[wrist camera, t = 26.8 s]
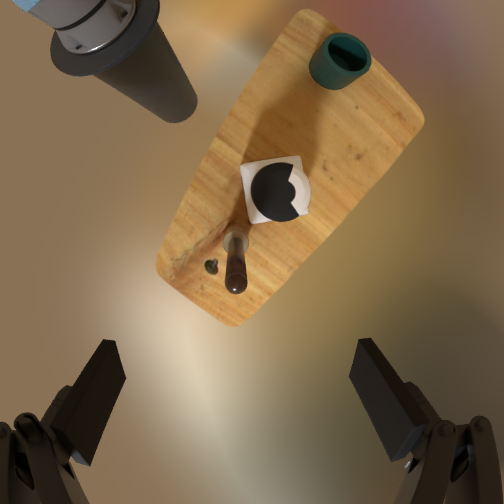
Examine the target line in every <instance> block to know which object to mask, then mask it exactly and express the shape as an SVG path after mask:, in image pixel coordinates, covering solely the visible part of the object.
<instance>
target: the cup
mask: <svg viewBox="0 0 504 504" xmlns="http://www.w3.org/2000/svg"><path fill="white" fill-rule="evenodd" d="M370 66H371V55H370V52H369V50H368V49H367V47H366V46H365V44H364V43H363V42H362V41H360V40H359V39H358V38H356V37H354V36H352V35H350V34H347V33H335V34H331V35H330V36H328V37H327V38H326V39H325V41H324V42H323V43H322V45H321V46H320V47H319V49H318V50H317V51H316V53H315V54H314V56H313V57H312V59H311V60H310V63H309V70H310V74H311V76H312V77H313V79H314V80H315V81H316V82H317V83H318V84H319V85H321V86H322V87H324V88H327V89H331V90H339V89H342V88H344V87H346V86H347V85H349V84H350V83H352V82H353V81H355V80H356V79H357V78H359V77H360V76H362V75H363V74H365V73H366V72H367V71H368V70H369V68H370Z"/></svg>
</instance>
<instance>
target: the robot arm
mask: <svg viewBox="0 0 504 504" xmlns="http://www.w3.org/2000/svg"><path fill="white" fill-rule="evenodd" d="M12 1H13V2H14V3H15V4H16V5H17V6H19V7H20V8H21V9H22V11H24V12H28V13H29V14H31V15H33V16H34V17H36V18H38V19H39V20H41V21H43V22H44V23H46V24H47V25H49V26H51V27H52V28H54V29H55V30H56V32H57V34H58V36H59V38H60V40H61V42H62V44H63V46H64V47H65V49H66V50H68V51H69V52H71V53H73V54H75V55H80V56H84V55H90V54H94V53H97V52H99V51H101V50H103V49H105V48H107V47H108V46H110V45H111V44H113V43H114V42H115V41H117V40H118V39H119V38H120V37H121V36H122V35H123V34H124V33H125V32H126V31H127V30H128V28H129V27H130V26H131V24H132V22H133V21H134V19H135V16H136V13H137V2H136V0H12ZM349 378H350V380H351V381H352V383H353V385H354V387H355V389H356V391H357V393H358V395H359V397H360V399H361V401H362V403H363V405H364V407H365V409H366V411H367V413H368V415H369V417H370V419H371V421H372V423H373V425H374V427H375V429H376V432H377V434H378V436H379V438H380V440H381V442H382V444H383V446H384V448H385V450H386V452H387V454H388V456H389V459H390V461H391V462H394V461H397V460H400V459H402V458H405V457H406V455H407V454H408V453H409V451H411V453H412V454H413V456H412V458H410V460H409V461H408V462H407V464H406V465H405V467H404V468H406V467H407V466H408V468H407V471H406V473H405V476H404V479H403V481H402V484H401V486H400V489H399V491H398V493H397V496H396V498H395V500H394V502H393V504H443V501H444V498H445V504H503V494H502V482H501V474H500V467H499V460H498V454H497V449H496V444H495V439H494V435H493V430H492V426H491V423H490V421H489V420H488V419H487V418H486V417H484V416H475V417H474V418H472V420H471V421H470V423H469V424H464V425H457V426H456V425H455V424H454V423H452V422H451V421H448V420H442V419H441V418H440V417H439V416H438V414H437V413H436V411H435V410H434V408H433V407H432V406H431V404H430V403H429V401H427V399H426V397H425V396H424V395H423V393H422V392H421V390H420V389H419V388H418V387H417V386H416V385H414V384H413V383H411V382H407V383H403V381H402V380H401V379H400V377H399V376H398V375H397V373H396V372H395V370H394V369H393V367H392V366H391V365H390V363H389V362H388V361H387V359H386V358H385V356H384V355H383V354H382V352H381V351H380V350H379V348H378V347H377V346H376V344H375V343H374V341H373V340H372V339H371V338H364V339H359V340H358V344H357V348H356V352H355V356H354V360H353V364H352V367H351V371H350V375H349ZM125 380H126V376H125V373H124V370H123V366H122V363H121V360H120V356H119V353H118V349H117V346H116V342H115V341H113V340H105V339H103V340H102V342H101V344H100V345H99V346H98V348H97V349H96V351H95V352H94V354H93V355H92V357H91V358H90V360H89V361H88V363H87V364H86V366H85V367H84V369H83V371H82V372H81V374H80V375H79V377H78V378H77V380H76V382H75V383H74V385H73V386H68V385H66V386H65V387H63V388H62V389H61V390H60V391H59V392H58V393H57V395H56V397H55V399H54V400H53V401H52V403H51V405H50V406H49V408H48V409H47V411H46V413H45V414H44V417H43V418H42V419H41V421H40V422H39V420H38V419H37V417H36V416H35V415H34V414H32V413H22V414H20V415H19V416H17V418H16V419H15V421H14V427H15V429H16V430H17V431H15V430H12V429H11V428H10V426H9V425H8V424H7V423H5V422H0V504H89V502H88V500H87V498H86V496H85V494H84V492H83V490H82V488H81V486H80V483H79V481H78V479H77V477H76V475H75V472H74V470H73V468H72V465H71V463H70V462H69V459H70V456H72V458H73V459H74V460H75V461H76V462H77V463H80V464H84V465H87V466H90V465H91V462H92V460H93V457H94V454H95V452H96V449H97V447H98V444H99V442H100V439H101V436H102V434H103V431H104V429H105V427H106V424H107V422H108V419H109V417H110V414H111V412H112V410H113V407H114V405H115V403H116V400H117V398H118V396H119V393H120V391H121V389H122V387H123V384H124V382H125Z"/></svg>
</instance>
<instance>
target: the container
mask: <svg viewBox="0 0 504 504" xmlns="http://www.w3.org/2000/svg"><path fill="white" fill-rule="evenodd" d="M240 174H241V179H242V185H243V190H244V196H245V201H246V207H247V212H248V216H249V220H250V223H252V224H256V223H261V222H267V221H272V220H273V221H278V222H285V221H290V220H293V219H295V218H297V217H298V216H302V215H307V214H308V213H309V207H308V204H309V202H310V198H311V186H310V182H309V180H308V178H307V176H306V175H305V173H304V172H303V166H302V160H301V157H300V156H299V155H296V156H288V157H281V158H274V159H267V160H261V161H255V162H249V163H243V164H241V165H240Z"/></svg>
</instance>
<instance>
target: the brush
mask: <svg viewBox="0 0 504 504" xmlns="http://www.w3.org/2000/svg"><path fill="white" fill-rule="evenodd" d="M223 247H224V249H225V251H226V252H227V253H228V255H227V266H226V277H225V286H226V289H227V290H228V291H229V292H230V293H232V294H240V293H242V292H244V291H245V289H246V287H247V274H246V264H245V255H244V253H245V252H246V251H247V249H248V247H249V239H248V234H247V230H246V229H245V228H244V227H243V226H242V225H240V224H232V225H230V226H228V227H227V229H226V230H225V233H224V238H223Z"/></svg>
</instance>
